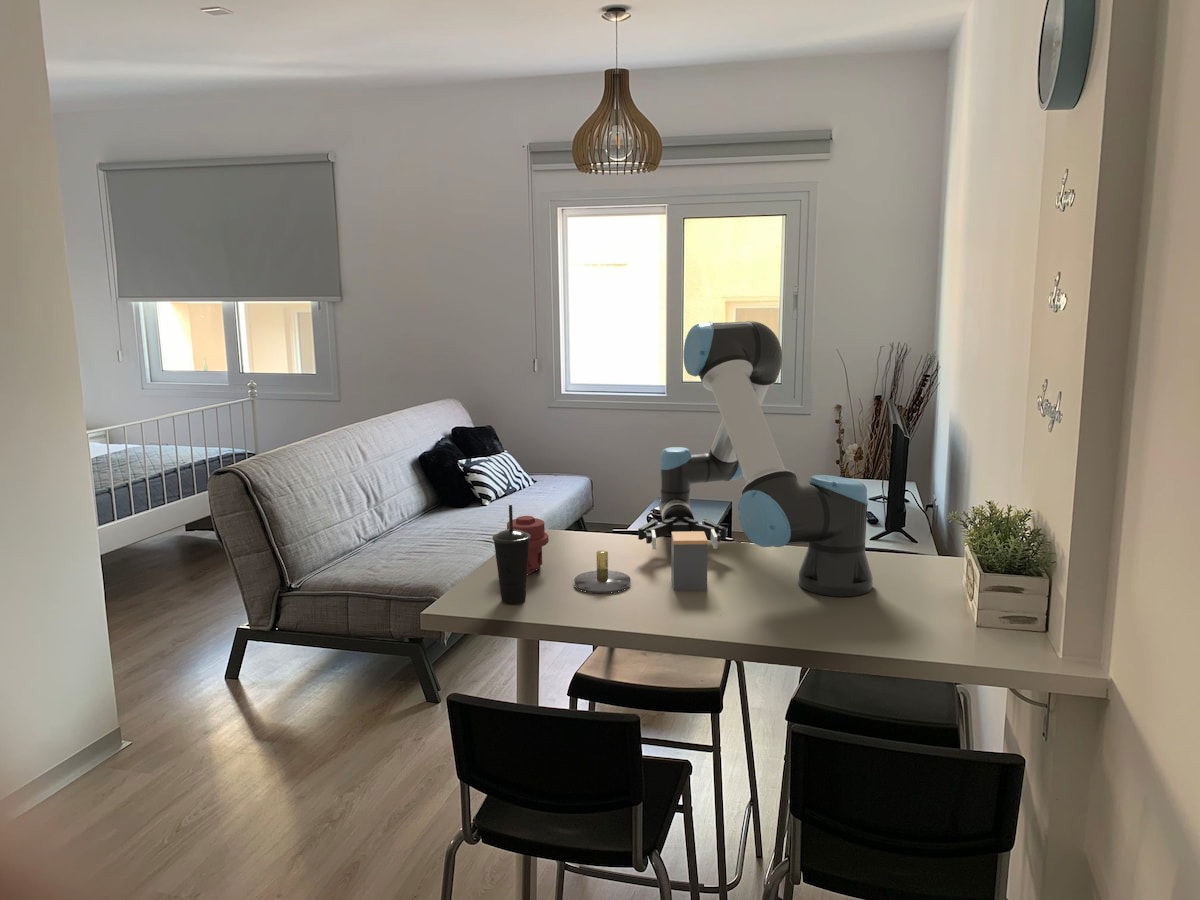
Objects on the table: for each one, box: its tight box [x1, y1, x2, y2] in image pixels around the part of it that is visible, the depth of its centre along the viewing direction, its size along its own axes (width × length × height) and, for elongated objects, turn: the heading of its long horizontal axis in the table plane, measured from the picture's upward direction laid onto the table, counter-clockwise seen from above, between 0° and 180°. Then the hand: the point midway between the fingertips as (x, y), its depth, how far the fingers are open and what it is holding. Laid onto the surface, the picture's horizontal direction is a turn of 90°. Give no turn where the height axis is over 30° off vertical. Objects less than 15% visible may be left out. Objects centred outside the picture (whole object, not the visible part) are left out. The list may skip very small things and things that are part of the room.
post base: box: [574, 549, 632, 594], centre depth 193 cm, size 12×12×7 cm
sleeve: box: [670, 531, 709, 592], centre depth 191 cm, size 7×7×11 cm
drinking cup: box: [491, 504, 531, 606], centre depth 182 cm, size 8×8×20 cm
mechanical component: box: [506, 515, 549, 575], centre depth 202 cm, size 12×10×10 cm
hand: (685, 543), depth 200 cm, fingers open, 13 cm apart
